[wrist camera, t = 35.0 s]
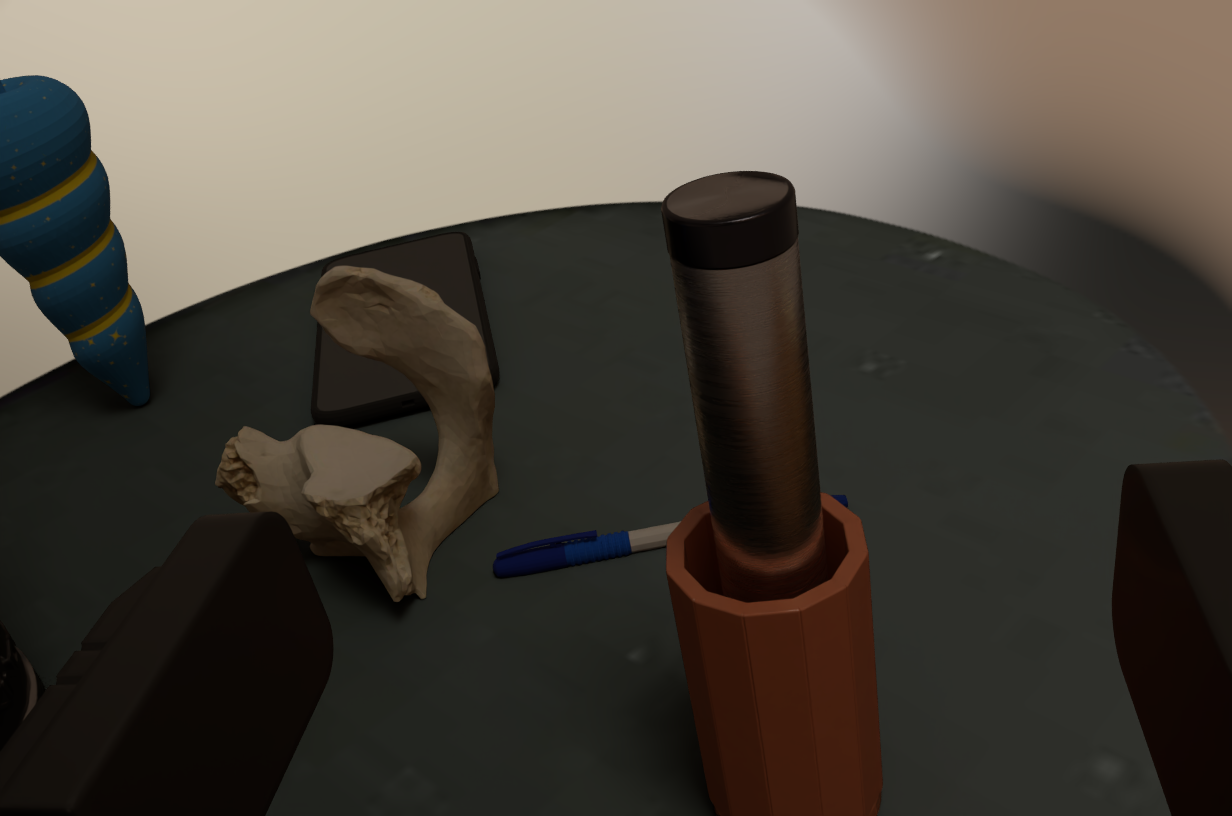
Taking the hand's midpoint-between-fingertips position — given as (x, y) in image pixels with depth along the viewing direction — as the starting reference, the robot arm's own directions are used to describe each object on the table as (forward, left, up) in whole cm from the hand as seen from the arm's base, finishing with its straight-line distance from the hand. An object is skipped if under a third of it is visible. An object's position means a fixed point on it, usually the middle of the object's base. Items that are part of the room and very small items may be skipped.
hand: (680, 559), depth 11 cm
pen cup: (+5, +6, -13) cm, 16 cm away
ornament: (-6, +37, -14) cm, 40 cm away
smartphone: (+5, +35, -13) cm, 38 cm away
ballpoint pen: (+7, +16, -14) cm, 22 cm away
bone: (0, +20, -14) cm, 24 cm away
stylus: (+5, +6, -13) cm, 15 cm away
